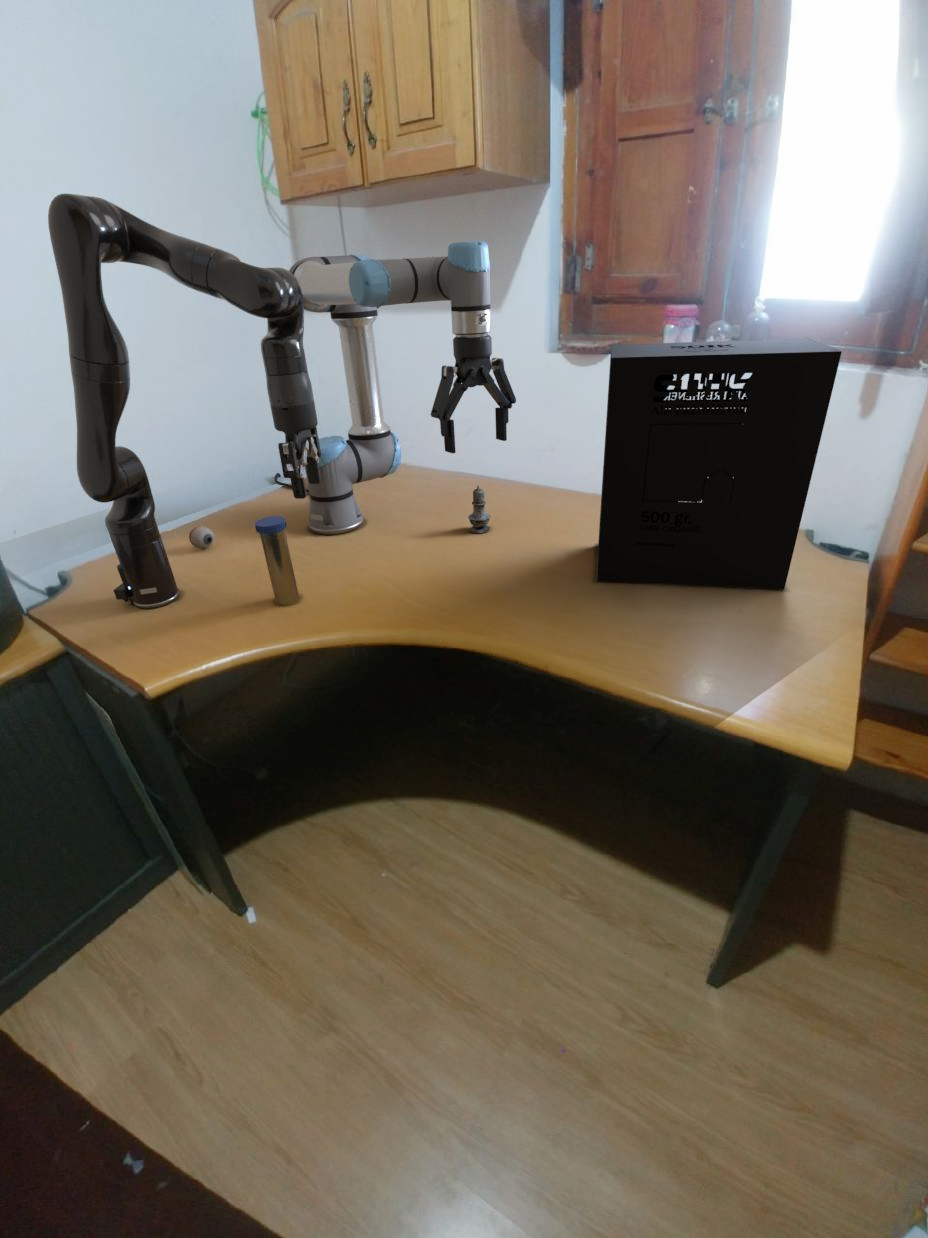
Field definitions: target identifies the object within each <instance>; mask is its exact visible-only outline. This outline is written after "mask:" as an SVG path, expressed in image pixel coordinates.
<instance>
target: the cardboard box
mask: <svg viewBox="0 0 928 1238" xmlns="http://www.w3.org/2000/svg"><path fill="white" fill-rule="evenodd" d="M841 356H842V350H840V349H838V348H834V347H833V346H829V345H827V344H823V343H821V342H819V341H816V340H813V339H811V338H808V337H807V338H806V337H805V338H780V339H779V338H777V339H776V338H775V339H774V338H773V339H749V340H748V339H746V340H745V339H744V340H718V341H688V342H687V341H685V342H683V341H682V342H681V341H680V342H652V343H624V344H623V343H621V344H611V345H610V358H609V372H608V373H609V374H608V386H607V388H608V392H607V405H606V419H605V420H606V422H605V434H604V451H603V452H604V453H603V466H602V481H601V496H600V512H599V513H600V514H599V528H598V541H597V542H598V543H597V566H596V567H597V568H596V582H609V583H630V584H648V585H649V584H653V585H672V586H673V585H674V586H675V585H676V586H693V587H695V586H697V587H699V586H700V587H716V588H717V587H718V588H719V587H720V588H739V589H740V588H742V589H762V590H764V589H765V590H781V591H782V590H785V588H786V584H787V580H788V576H789V572H790V567H791V563H792V559H793V555H794V551H795V546H796V542H797V538H798V535H799V531H800V528H801V527H800V526H801V522H802V518H803V514H804V509H805V506H806V501H807V497H808V493H809V489H810V485H811V480H812V476H813V472H814V468H815V465H816V460H817V456H818V451H819V447H820V443H821V440H822V435H823V432H824V427H825V423H826V419H827V415H828V410H829V405H830V403H831V398H832V394H833V390H834V386H835V381H836V378H837V374H838V369H839V365H840V360H841ZM745 374H751V375H750V376H749V377H748V378H743V377H744V376H745ZM675 375H676V378H675ZM685 375H688V380H687V386H686V388H682V385H683V377H684V376H685ZM696 375H700V380H699V379H695V377H696ZM710 375H712V377H711V379H710ZM723 375H724V376H723ZM733 376H734V378H733V385H738V384H743V386H742V387H741V388H739V387H738V388H733V387H731V385H730V383H731V379H732V377H733ZM699 385H702V388H699ZM713 385H718V388H712V387H713ZM670 386H671V387H673V388H671V389H668V388H669V387H670Z"/></svg>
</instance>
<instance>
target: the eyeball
mask: <svg viewBox="0 0 928 1238" xmlns="http://www.w3.org/2000/svg"><path fill="white" fill-rule="evenodd" d="M188 539H189V542H190V544H191V545H192V546H193V547H194V548H196V549H198V550H206V549H208V548H210V547H212V545H213V544H214V541H215V535H214V533H213V531H212V529H210V528H209V527H207V526H205V525H198V526H195V527H194V528H192V529H191V530H190V532H189V535H188Z"/></svg>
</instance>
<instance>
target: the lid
mask: <svg viewBox="0 0 928 1238" xmlns="http://www.w3.org/2000/svg"><path fill="white" fill-rule="evenodd" d="M287 527H288V526H287V521H286V518H285V517H284V516H281V515H272V516H271V515H270V516H266V517H262V518H260V519H257V520H256V521H255V522H254V528H255V532H256V533H258V534H260V533H261V534H272V533H277V532H280V531H282V530H284V529H285V530H286V529H287Z"/></svg>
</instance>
